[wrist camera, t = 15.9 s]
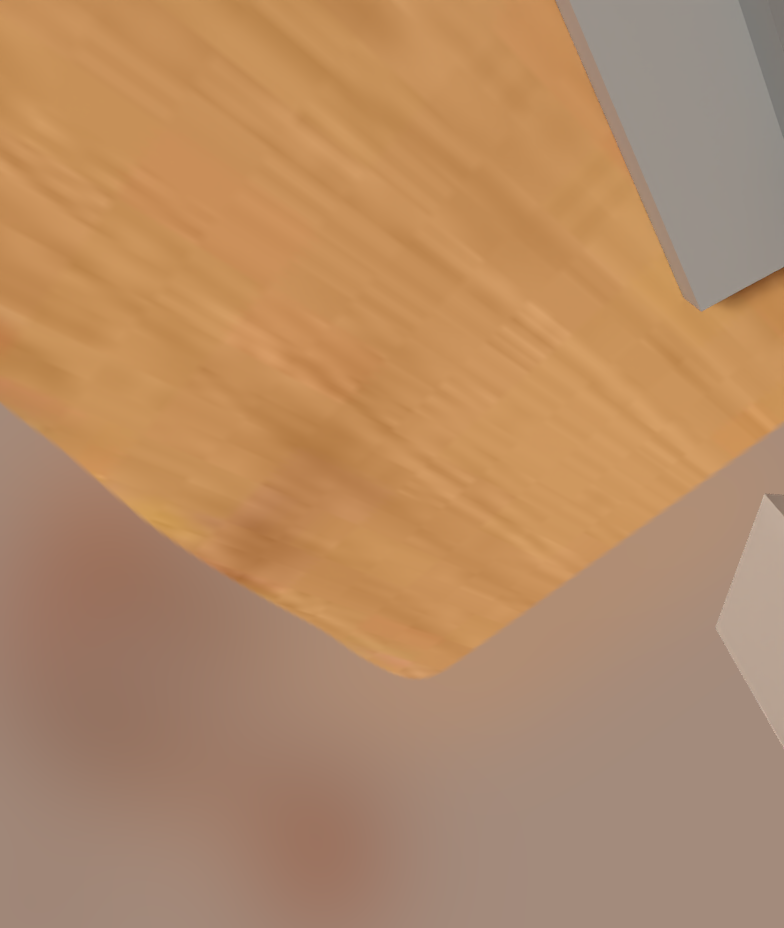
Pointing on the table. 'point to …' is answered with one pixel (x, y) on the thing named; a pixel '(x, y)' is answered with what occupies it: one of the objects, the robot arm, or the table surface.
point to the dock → (696, 127)
